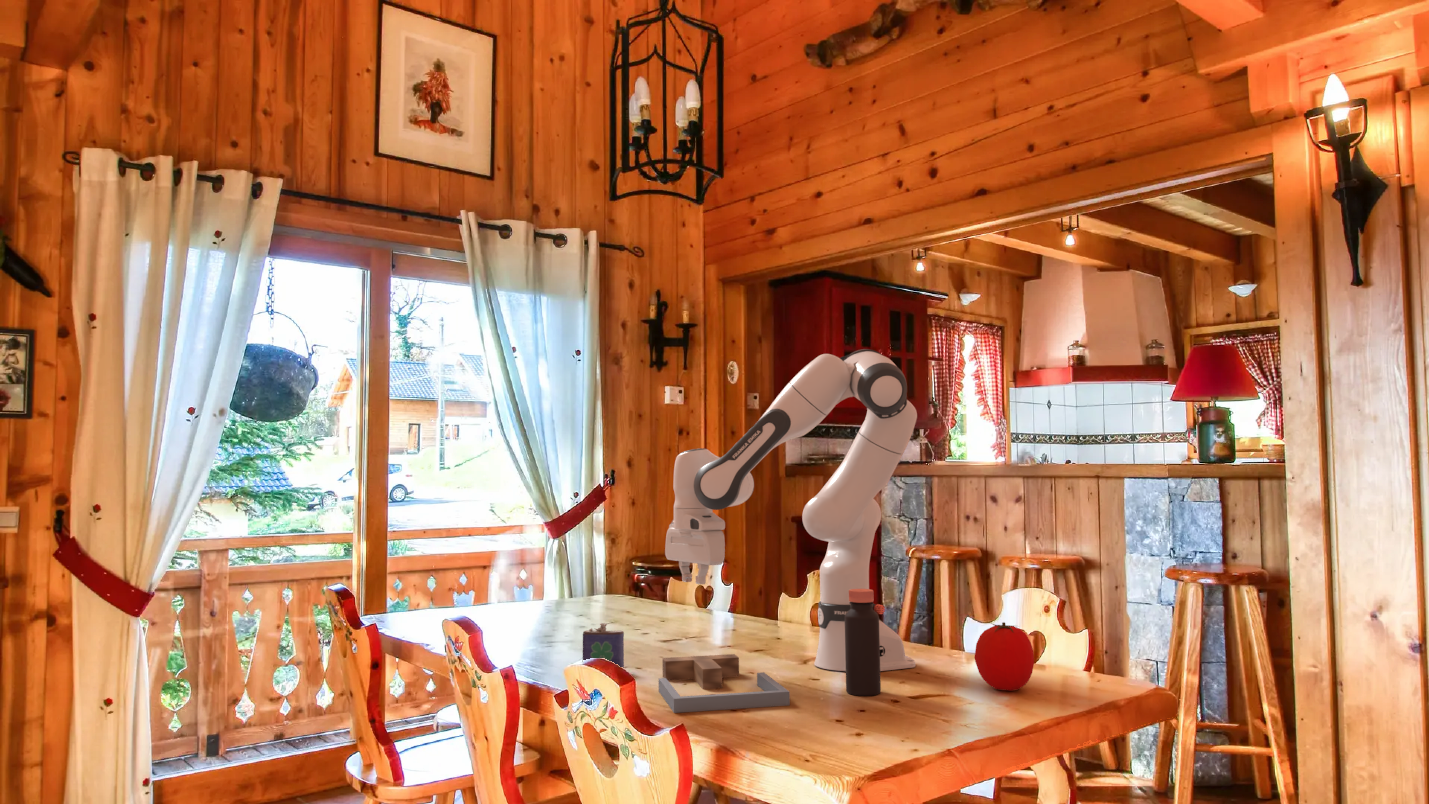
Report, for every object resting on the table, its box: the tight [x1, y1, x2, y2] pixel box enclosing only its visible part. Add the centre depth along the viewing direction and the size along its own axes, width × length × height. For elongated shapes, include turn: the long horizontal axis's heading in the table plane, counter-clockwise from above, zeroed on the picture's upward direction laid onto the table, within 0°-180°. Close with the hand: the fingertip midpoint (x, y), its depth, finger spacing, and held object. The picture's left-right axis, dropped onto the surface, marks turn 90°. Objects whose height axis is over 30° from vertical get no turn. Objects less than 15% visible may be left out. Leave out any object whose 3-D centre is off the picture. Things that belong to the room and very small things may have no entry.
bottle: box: [845, 588, 882, 697], centre depth 186 cm, size 7×7×20 cm
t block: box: [662, 653, 740, 690], centre depth 197 cm, size 16×14×4 cm
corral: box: [658, 671, 791, 714], centre depth 182 cm, size 22×18×2 cm
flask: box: [582, 622, 625, 669], centre depth 208 cm, size 9×3×11 cm, turn 87°
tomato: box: [974, 621, 1035, 692], centre depth 187 cm, size 12×12×13 cm
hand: (693, 583), depth 210 cm, fingers open, 4 cm apart
